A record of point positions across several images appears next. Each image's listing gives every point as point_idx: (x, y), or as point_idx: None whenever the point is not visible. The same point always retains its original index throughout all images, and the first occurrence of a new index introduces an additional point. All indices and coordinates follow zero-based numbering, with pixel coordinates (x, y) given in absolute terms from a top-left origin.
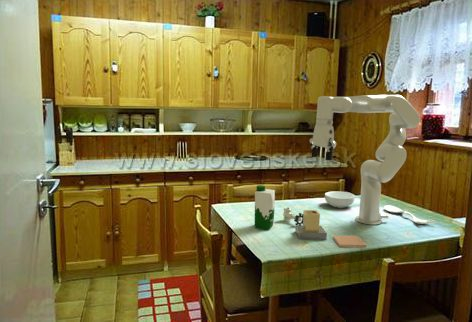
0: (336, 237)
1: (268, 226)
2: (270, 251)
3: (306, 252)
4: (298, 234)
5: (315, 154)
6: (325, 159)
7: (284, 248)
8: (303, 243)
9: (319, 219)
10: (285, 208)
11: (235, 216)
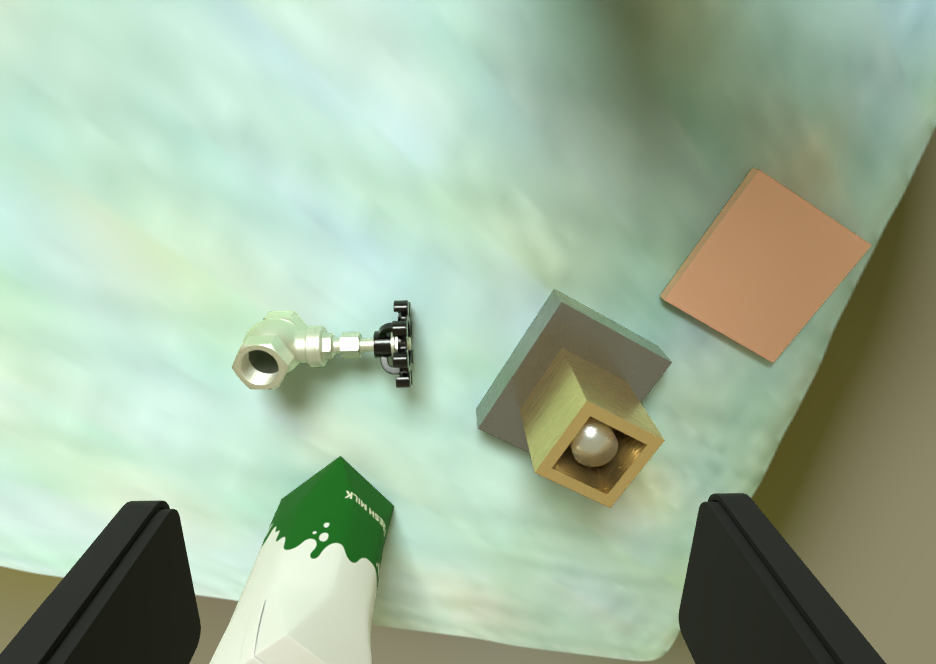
0: (697, 304)
1: (389, 521)
2: (609, 617)
3: None
4: None
5: (155, 618)
6: (682, 629)
7: (618, 563)
8: None
9: (651, 420)
10: (243, 371)
11: None
